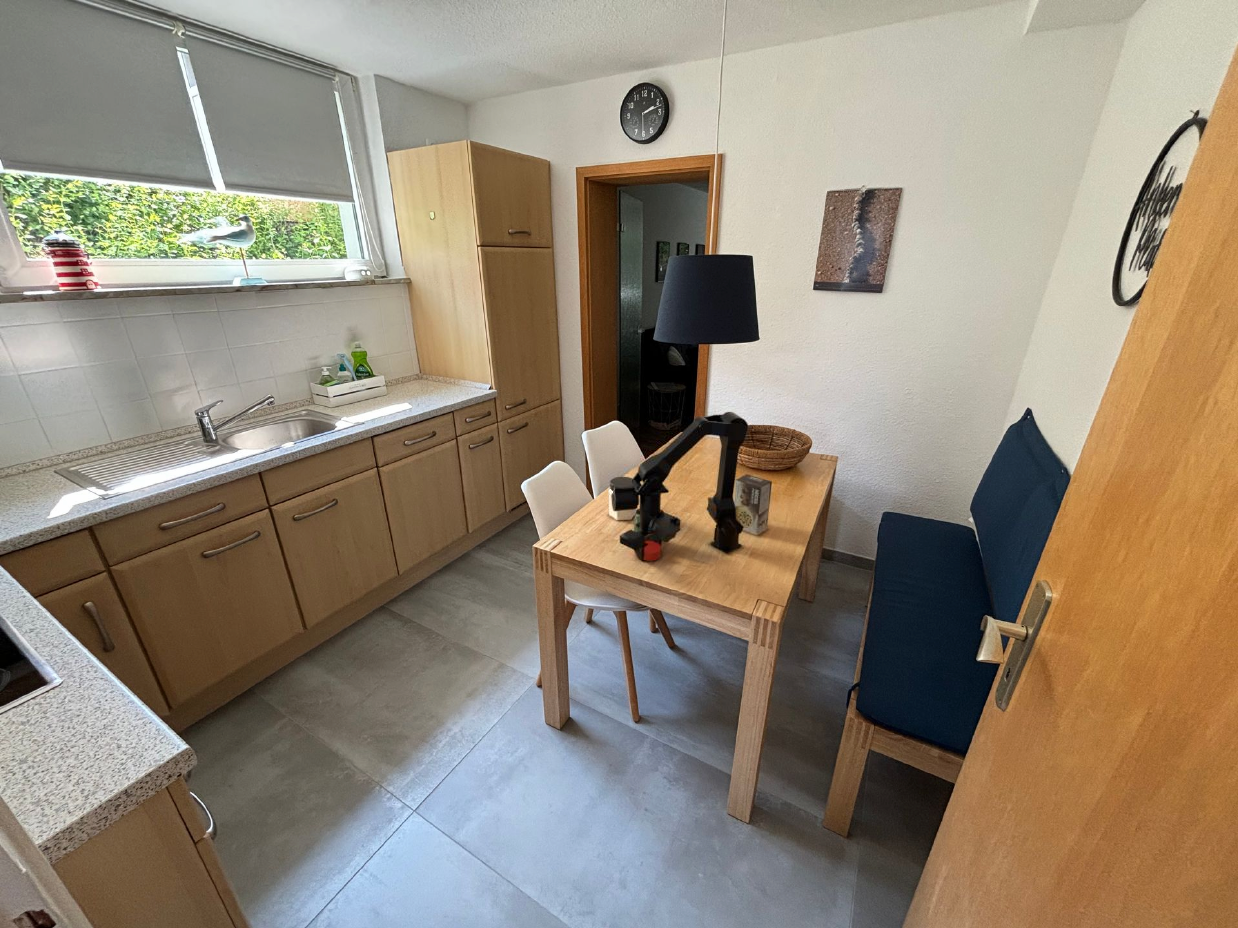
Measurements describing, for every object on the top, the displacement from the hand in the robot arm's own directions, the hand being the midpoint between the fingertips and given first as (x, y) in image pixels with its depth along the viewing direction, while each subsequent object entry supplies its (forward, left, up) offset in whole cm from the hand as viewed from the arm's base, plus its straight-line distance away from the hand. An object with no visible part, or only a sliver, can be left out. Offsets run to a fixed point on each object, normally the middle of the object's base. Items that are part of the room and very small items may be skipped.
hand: (648, 556), depth 141 cm
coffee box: (-7, -35, 0) cm, 36 cm away
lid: (0, 0, +3) cm, 3 cm away
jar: (+24, -9, 0) cm, 26 cm away
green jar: (+7, -4, 0) cm, 8 cm away
